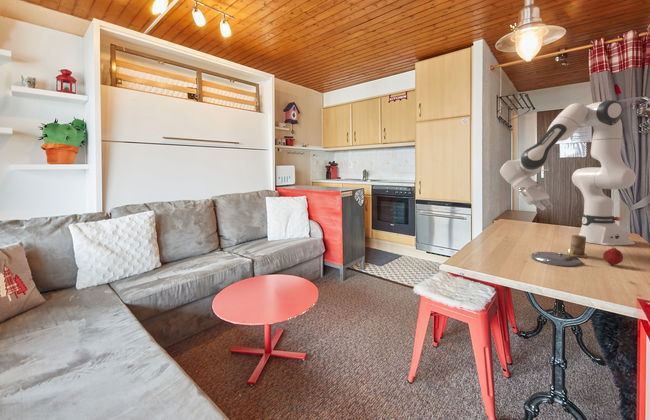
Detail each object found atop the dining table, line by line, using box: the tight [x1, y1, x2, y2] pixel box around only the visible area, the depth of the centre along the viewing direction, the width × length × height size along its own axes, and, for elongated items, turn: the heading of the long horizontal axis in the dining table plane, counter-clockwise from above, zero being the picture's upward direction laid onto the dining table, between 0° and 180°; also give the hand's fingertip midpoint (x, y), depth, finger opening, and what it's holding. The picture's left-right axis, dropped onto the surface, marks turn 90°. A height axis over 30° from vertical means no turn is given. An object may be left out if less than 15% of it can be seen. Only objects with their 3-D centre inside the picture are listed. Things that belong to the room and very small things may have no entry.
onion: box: [602, 245, 624, 267], centre depth 121 cm, size 6×6×8 cm
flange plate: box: [530, 247, 581, 267], centre depth 130 cm, size 17×17×6 cm
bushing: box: [566, 234, 588, 259], centre depth 134 cm, size 7×7×9 cm
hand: (547, 208), depth 142 cm, fingers open, 8 cm apart
